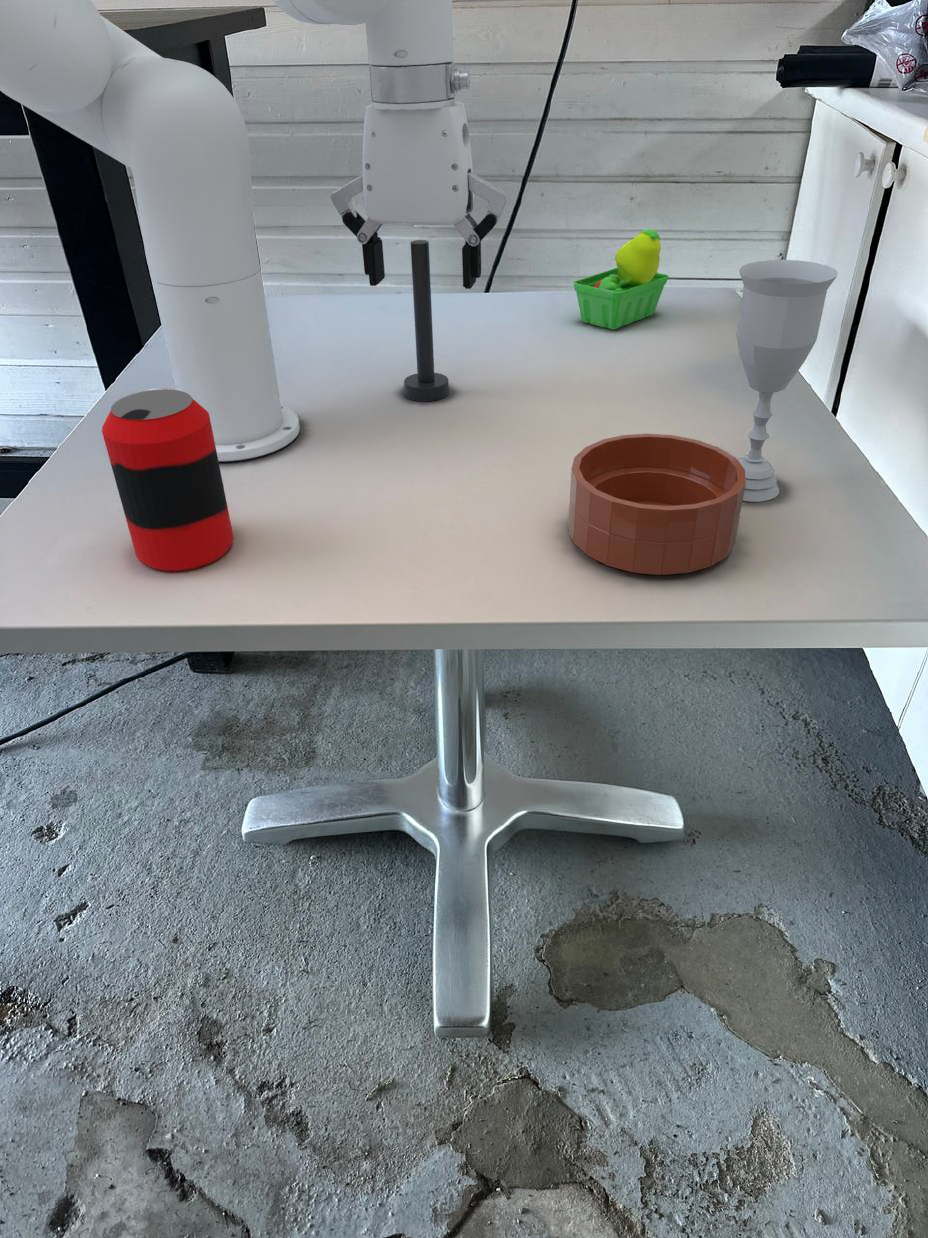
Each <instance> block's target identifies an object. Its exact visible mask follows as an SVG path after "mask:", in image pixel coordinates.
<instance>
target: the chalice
mask: <svg viewBox="0 0 928 1238" xmlns="http://www.w3.org/2000/svg"><path fill="white" fill-rule="evenodd" d="M738 272H739V275H740V279H741V281H742V284H743V287H742V288H743V289H742V294H741V301H740V308H739V314H738V321H737V326H736V334H735V337H736V342H737V346H738V353H739V358H740V361H741V365H742V368H743V370H744V373H745V376H746V379H747V382H748V386H749V387H750V388H751V389H752V390H754V391H756V392H758V402H757V405H756V407H755V409H754V410H753V411H752V412H751V415H752V416H753V420H754V424H753V425H754V426H753V427H752V430H751V431H750V432H748V433H747V435H746V436H747V437H748V438H749V441H750V443H749V444H750V448H749V451H748V453H747V454H745V455H744V456H742V457H738V458H736V459H737V460H738V461H739V462H740V464H741V465H742V466H743V467H744V469H745V475H746V485H745V490H744V496H743V501H744V502H750V503H751V502H752V503H753V502H755V503H756V502H758V503H760V502H766V501H770V500H772V499H775V498H777V496H778V495H779V494H780V488H779V486H778V484H777V481H778V480H777V477H776V474H775V472H776V470H775V468H774V467H773V465H772V464H771V462H770V461H768V460H766V459H765V457H764V456H763V452H762V450H763V449H762V448H763V446H764V443H765V441H767V440H768V439H769V438H770V434H769V433H768V431H767V425H768V422H769V420H770V419H771V417H773V413H772V411H771V400H772V398H773V396H774V394H775V393H778V392H782V391H784V390H785V389H786V388H787V387H788V385H790V383H791V381H792V380H793V379H794V377H795V376H796V375H797V373H798V372H799V370H800V369H801V368H802V366H803V365H804V364H805V362H806V360H807V359H808V356H809V355H810V353H811V351H812V350H813V348H814V346H815V344H816V342H817V339H818V335H819V331H820V326H821V322H822V316H823V311H824V307H825V303H826V297H827V292H828V289H829V288H830V287H831V285H832V284H833V283H834V281H835V280H836V279H837V277H838V275H839V272H838V270H836V269H835V268H834V267H832V266H829V265H827V264H823V263H818V262H813V261H806V260H798V259H797V260H796V259H769V260H768V259H767V260H759V261H754V262H749V263H747V264H744V265H742V266H740V268H739V269H738Z"/></svg>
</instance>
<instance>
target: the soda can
mask: <svg viewBox="0 0 928 1238" xmlns="http://www.w3.org/2000/svg"><path fill="white" fill-rule="evenodd" d="M161 389H162V390H150V391H148V390H145V391H140V392H136V393H132V394H129V395H127V396H124V397H121V398H120V399H118V400H117V401H115V402H114V403H112V405H111V407H110V411H109V413H108V415H107V417H106V419H105V421H104V423H103V424H102V427H101V435H102V437H103V441H104V445H105V448H106V451H107V455H108V459H109V462H110V466H111V470H112V473H113V477H114V480H115V485H116V488H117V492H118V495H119V498H120V503H121V506H122V509H123V513H124V518H125V521H126V525H127V528H128V531H129V535H130V538H131V543H132V545H133V550H134V553H135V555H136V558H137V559H138V560H139V561H140V562H141V563H143V564H144V565H146V566H148V567H149V568H151V569H155V570H158V571H163V572H183V571H190V570H195V569H199V568H202V567H204V566H207V565H209V564H213V563H214V562H215V561H217V560H219V559H220V558H222V557H223V556H224V555H225V554H226V553H227V552H228V550H229V549H230V548H231V546H232V544H233V541H234V533H233V528H232V527H233V526H232V522H231V517H230V512H229V507H228V502H227V497H226V492H225V488H224V481H223V477H222V472H221V467H220V461H218V456H217V451H216V446H215V441H214V436H213V431H212V426H211V421H210V416H209V413H208V412H207V410H205V409H204V408H203V407H202V406H201V405H200V404H198V403H197V402H196V401H195V400H194V399H193V398H192V397H191V395H189V394H188V393H185V392H183V391H178V390H176V389H168V388H161Z"/></svg>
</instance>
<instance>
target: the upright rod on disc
mask: <svg viewBox="0 0 928 1238" xmlns="http://www.w3.org/2000/svg"><path fill="white" fill-rule="evenodd" d="M429 242H430V241H428V240H425V239H415V240H411V242H410V258H411V259H410V260H411V261H410V263H411V276H412V277H411V279H412V297H413V317H414V318H413V319H414V332H415V333H414V334H415V335H414V336H415V351H416V352H415V354H416V371H417V372H416V373H413V374H409V375H408V376H406V377H405V378H404V380H403V389H404V396H405V397H406V398H407V399H408V400H412V401H415V402H435V401H439V400H443V399H445V398H446V397H447V396H449V393H450V383H449V381H450V380H449V378H448V376H447V375H445V374H443V373H439V372H435V358H434V355H435V354H434V336H433V335H434V334H433V333H434V332H433V310H432V288H431V287H432V285H431V264H430V263H431V261H430V243H429Z"/></svg>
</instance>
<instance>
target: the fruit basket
mask: <svg viewBox="0 0 928 1238" xmlns="http://www.w3.org/2000/svg"><path fill="white" fill-rule="evenodd" d="M660 240H661V237H660V234H659V233H658V232H657V231H656V230H654V229H650V228H646V229H643V230H641V231H640V232H639V233H638V234H637V235H636V236H635V237H633V238H632V239H630V240H628V241H627V242H625V243H624V244H623V246H621V247H620V248H618V250H617V251H616V253H615V257H614V260H615V263H616V267H614V268H611V269H608V270H605V271H601V272H598V273H595V274H593V275H590V276H588V277H584V278H581V279H577V280H574V281H573V282H572V285H573V288H574V291H575V293H576V298H577V302H578V307H579V308H578V309H579V311H580V317H581V320H582V323H584V324H590V325H592V326H597V327H601V328H604V329H605V328H606V329H609V330H612V331H614V330H617V329H619V328H621V327H624V326H627V325H629V324H632V323H634V322H638V321H640V320H643V319H644V318H648V317H651V316H653V315H654V314H655V311H656V309H657V306H658V303H659V301H660V297H661V295H662V293H663V290H664V287H665V285H666V284H667V282H668V280H669V277H670V275H669V274H666V273H660V272H658V270H659V267H660V261H661V260H660V253H661V248H662V246H661V241H660Z"/></svg>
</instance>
